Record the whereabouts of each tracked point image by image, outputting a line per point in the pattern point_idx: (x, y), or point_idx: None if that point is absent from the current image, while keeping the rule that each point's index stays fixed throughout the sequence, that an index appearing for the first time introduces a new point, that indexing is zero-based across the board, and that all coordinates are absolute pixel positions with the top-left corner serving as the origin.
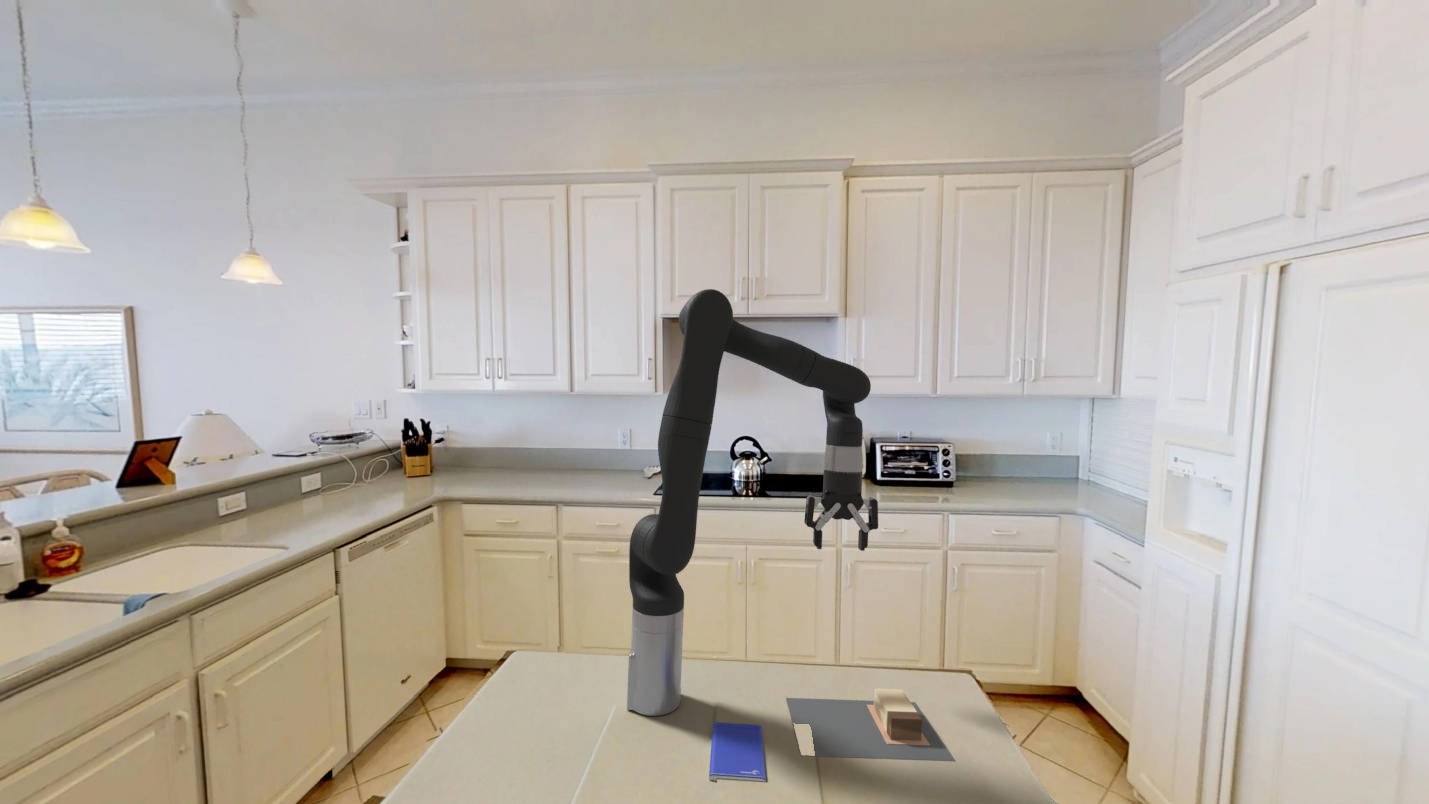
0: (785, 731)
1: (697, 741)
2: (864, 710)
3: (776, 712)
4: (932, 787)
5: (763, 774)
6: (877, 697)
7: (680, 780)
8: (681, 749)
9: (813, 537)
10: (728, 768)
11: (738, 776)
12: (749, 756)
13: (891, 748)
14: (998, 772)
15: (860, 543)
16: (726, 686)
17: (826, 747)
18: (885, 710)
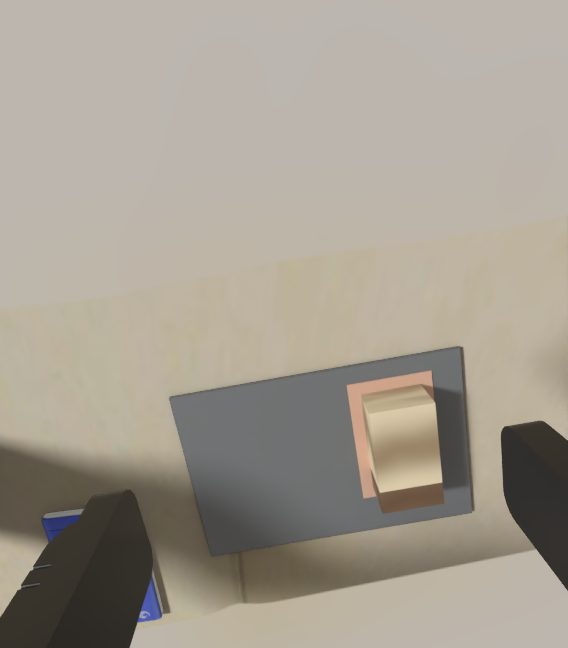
0: (180, 494)
1: (31, 552)
2: (338, 405)
3: (156, 443)
4: (412, 566)
5: (156, 614)
6: (370, 432)
7: None
8: (13, 574)
9: (25, 594)
10: None
11: None
12: None
13: (369, 507)
14: None
15: (538, 527)
16: (26, 374)
17: (254, 527)
18: (377, 479)
